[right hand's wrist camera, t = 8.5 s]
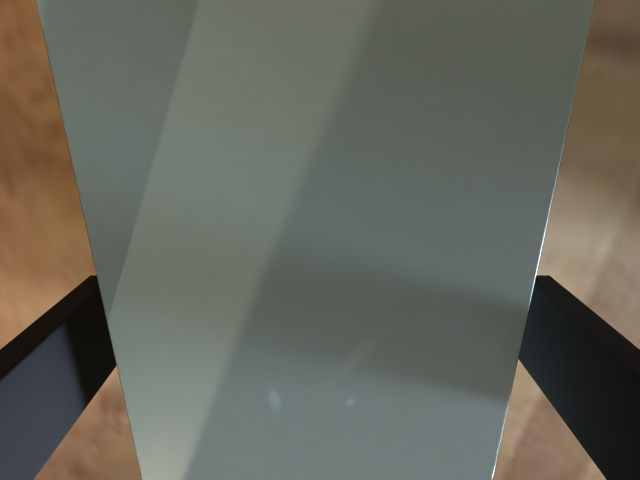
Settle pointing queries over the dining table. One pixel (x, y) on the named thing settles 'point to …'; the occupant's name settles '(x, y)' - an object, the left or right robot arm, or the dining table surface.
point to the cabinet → (316, 221)
